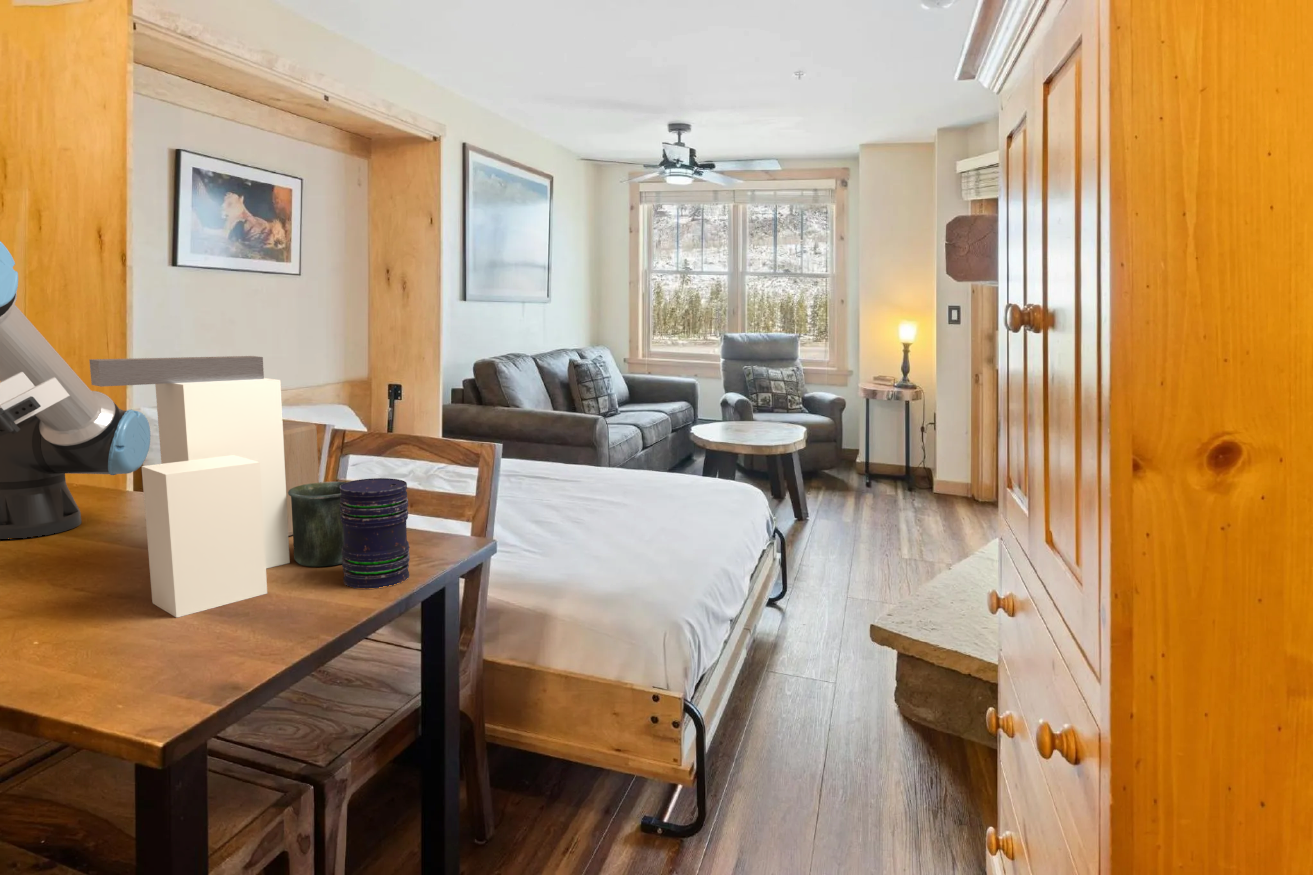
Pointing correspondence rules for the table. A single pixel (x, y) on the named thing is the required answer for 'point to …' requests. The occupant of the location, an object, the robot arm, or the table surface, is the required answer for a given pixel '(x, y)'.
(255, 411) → the stand
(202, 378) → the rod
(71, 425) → the robot arm
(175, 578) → the step
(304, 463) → the block
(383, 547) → the dark purple barrel
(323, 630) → the table surface
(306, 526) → the mug
